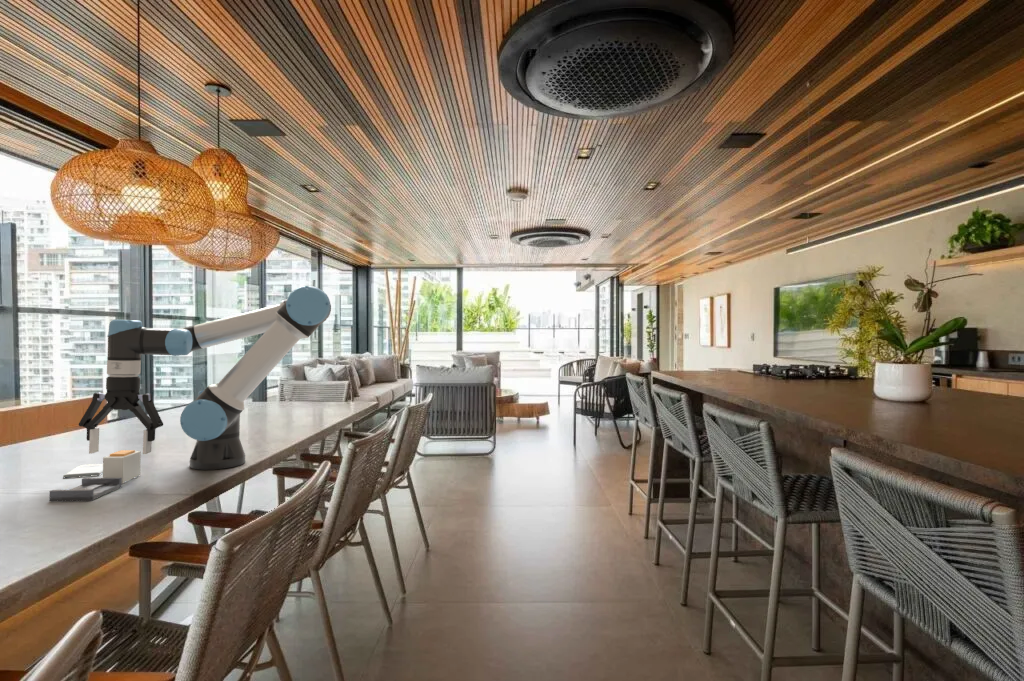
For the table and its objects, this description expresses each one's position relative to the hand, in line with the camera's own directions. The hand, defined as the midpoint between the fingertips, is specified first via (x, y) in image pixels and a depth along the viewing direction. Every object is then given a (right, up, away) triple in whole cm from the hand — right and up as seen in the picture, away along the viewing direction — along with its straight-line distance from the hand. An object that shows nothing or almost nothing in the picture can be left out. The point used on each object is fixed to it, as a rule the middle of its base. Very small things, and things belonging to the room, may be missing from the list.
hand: (120, 453), depth 146 cm
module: (0, -7, 0) cm, 7 cm away
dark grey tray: (+2, -7, -14) cm, 16 cm away
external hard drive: (-15, -8, +7) cm, 18 cm away
